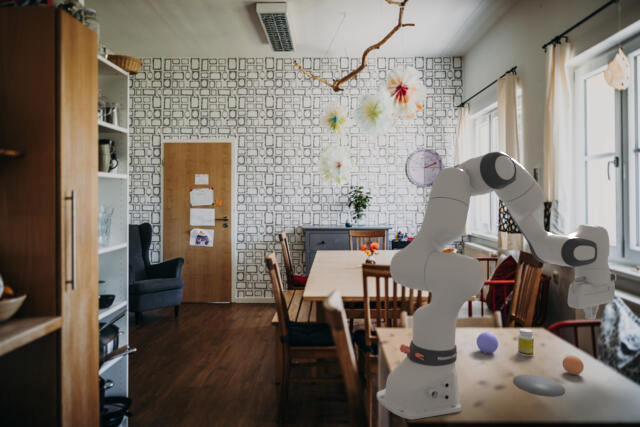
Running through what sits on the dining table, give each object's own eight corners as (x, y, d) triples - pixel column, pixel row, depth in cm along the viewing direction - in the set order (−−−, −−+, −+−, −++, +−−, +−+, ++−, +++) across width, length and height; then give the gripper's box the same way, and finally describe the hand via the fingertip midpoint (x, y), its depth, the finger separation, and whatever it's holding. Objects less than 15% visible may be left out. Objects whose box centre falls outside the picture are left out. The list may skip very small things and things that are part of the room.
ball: (576, 379, 118) (577, 360, 117) (558, 372, 122) (558, 354, 122) (587, 375, 120) (587, 357, 120) (568, 368, 125) (569, 351, 125)
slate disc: (546, 400, 105) (546, 399, 105) (503, 380, 116) (503, 380, 116) (574, 389, 111) (575, 389, 111) (531, 372, 122) (531, 371, 122)
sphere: (493, 349, 141) (494, 330, 141) (500, 357, 134) (501, 336, 134) (473, 348, 142) (474, 329, 142) (479, 356, 135) (480, 335, 135)
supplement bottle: (535, 357, 134) (535, 332, 134) (520, 356, 135) (520, 331, 135) (530, 352, 139) (531, 328, 139) (516, 351, 140) (516, 327, 140)
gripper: (583, 280, 118) (582, 326, 118) (619, 274, 127) (618, 317, 128) (562, 276, 123) (561, 320, 124) (598, 271, 133) (597, 312, 133)
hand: (590, 318), depth 126 cm, fingers closed
